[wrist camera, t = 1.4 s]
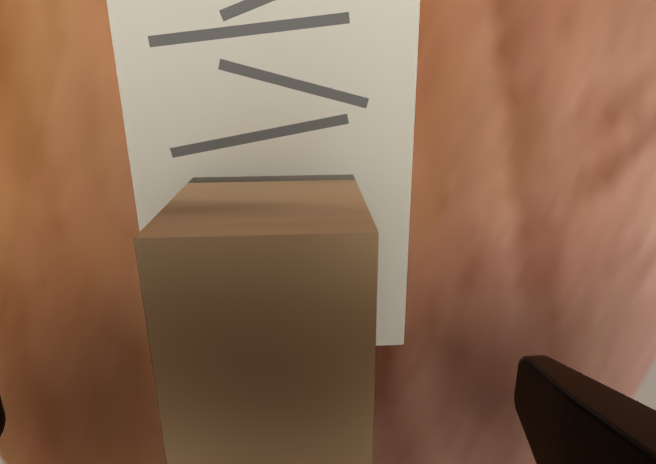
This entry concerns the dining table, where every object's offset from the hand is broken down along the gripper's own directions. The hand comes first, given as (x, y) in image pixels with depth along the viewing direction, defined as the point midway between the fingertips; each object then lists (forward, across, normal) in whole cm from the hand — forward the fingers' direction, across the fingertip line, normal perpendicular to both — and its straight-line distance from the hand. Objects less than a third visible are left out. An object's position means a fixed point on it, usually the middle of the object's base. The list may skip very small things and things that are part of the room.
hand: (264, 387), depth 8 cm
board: (+6, 0, -3) cm, 7 cm away
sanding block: (+5, 0, 0) cm, 5 cm away
